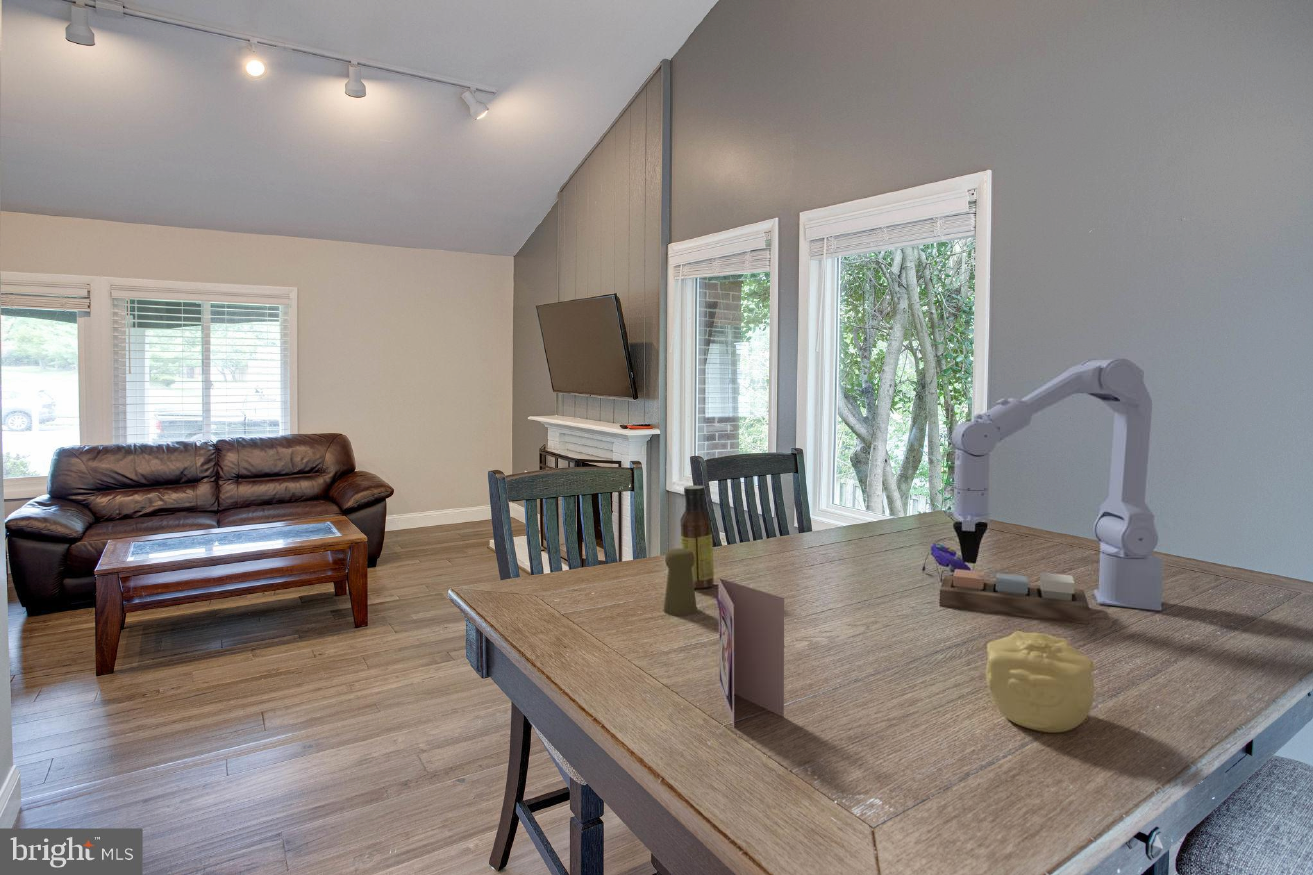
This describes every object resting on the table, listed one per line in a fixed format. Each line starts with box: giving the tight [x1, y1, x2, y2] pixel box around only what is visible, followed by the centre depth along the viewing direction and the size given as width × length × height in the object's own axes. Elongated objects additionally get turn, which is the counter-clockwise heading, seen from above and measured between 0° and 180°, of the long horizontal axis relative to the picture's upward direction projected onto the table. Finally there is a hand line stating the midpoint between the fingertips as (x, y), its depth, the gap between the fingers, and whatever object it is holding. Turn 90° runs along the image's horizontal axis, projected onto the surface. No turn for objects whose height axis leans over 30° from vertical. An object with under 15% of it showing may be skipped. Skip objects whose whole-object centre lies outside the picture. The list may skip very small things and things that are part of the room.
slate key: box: [995, 572, 1029, 596], centre depth 129 cm, size 5×5×3 cm
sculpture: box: [985, 630, 1095, 734], centre depth 87 cm, size 12×12×11 cm
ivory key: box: [1039, 572, 1075, 601], centre depth 126 cm, size 5×5×3 cm
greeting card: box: [713, 577, 785, 728], centre depth 92 cm, size 11×7×15 cm, turn 4°
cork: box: [663, 547, 698, 617], centre depth 129 cm, size 6×6×11 cm
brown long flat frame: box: [938, 575, 1090, 625], centre depth 129 cm, size 23×10×3 cm, turn 64°
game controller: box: [922, 538, 975, 583], centre depth 150 cm, size 10×8×10 cm
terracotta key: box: [952, 569, 985, 591], centre depth 132 cm, size 5×5×3 cm
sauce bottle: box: [680, 484, 715, 590], centre depth 143 cm, size 7×6×20 cm
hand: (969, 562), depth 132 cm, fingers closed
